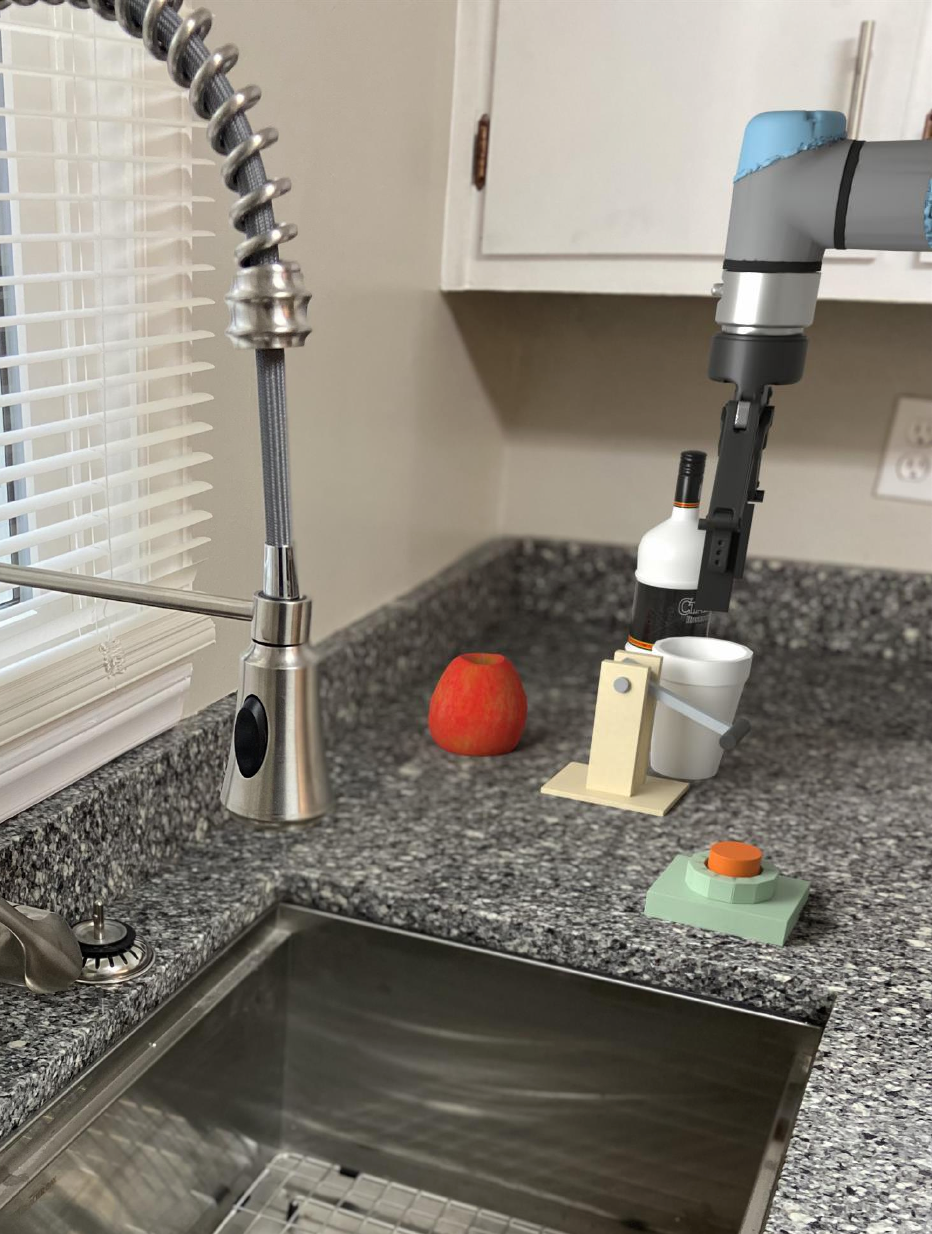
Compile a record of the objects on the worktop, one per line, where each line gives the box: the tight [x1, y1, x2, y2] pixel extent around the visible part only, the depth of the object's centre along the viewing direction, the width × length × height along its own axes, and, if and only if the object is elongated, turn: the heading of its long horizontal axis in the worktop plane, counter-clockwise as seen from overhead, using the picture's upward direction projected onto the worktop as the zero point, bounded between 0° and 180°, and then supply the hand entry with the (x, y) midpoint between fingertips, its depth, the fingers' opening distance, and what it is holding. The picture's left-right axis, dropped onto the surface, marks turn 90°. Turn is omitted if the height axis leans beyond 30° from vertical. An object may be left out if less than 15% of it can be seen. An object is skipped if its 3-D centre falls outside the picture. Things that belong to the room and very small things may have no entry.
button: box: [707, 840, 763, 878], centre depth 120 cm, size 4×4×2 cm
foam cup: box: [650, 637, 754, 781], centre depth 148 cm, size 10×9×13 cm
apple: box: [427, 652, 529, 757], centre depth 156 cm, size 10×10×10 cm
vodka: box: [624, 449, 713, 654], centre depth 155 cm, size 9×9×30 cm
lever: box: [621, 657, 752, 751], centre depth 139 cm, size 13×6×2 cm, turn 59°
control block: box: [643, 849, 812, 947], centre depth 121 cm, size 11×9×4 cm
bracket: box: [540, 649, 690, 818], centre depth 142 cm, size 12×9×14 cm
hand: (719, 593), depth 130 cm, fingers open, 13 cm apart
